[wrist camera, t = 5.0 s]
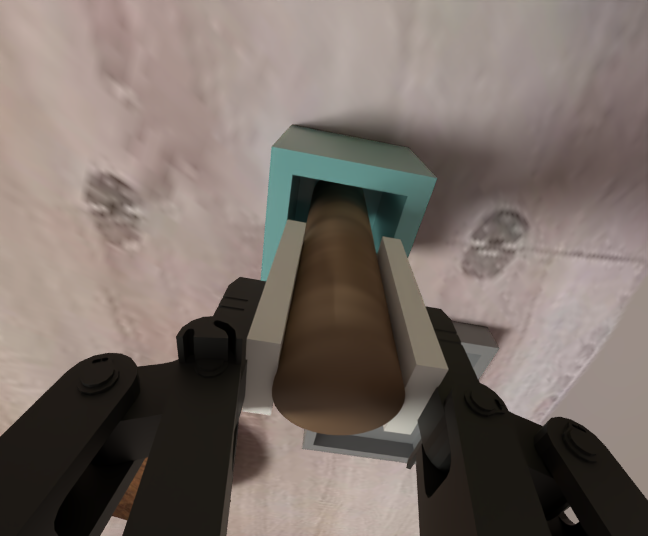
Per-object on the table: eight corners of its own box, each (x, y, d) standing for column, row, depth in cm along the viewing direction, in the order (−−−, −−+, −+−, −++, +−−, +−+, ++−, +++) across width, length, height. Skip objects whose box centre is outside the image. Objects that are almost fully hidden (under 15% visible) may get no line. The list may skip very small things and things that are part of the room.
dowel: (308, 217, 20) (266, 426, 8) (316, 167, 18) (278, 341, 7) (357, 226, 20) (384, 442, 9) (369, 177, 19) (424, 363, 7)
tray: (304, 427, 35) (302, 448, 33) (335, 302, 26) (334, 321, 24) (416, 442, 36) (421, 465, 34) (486, 327, 26) (499, 348, 24)
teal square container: (279, 232, 23) (260, 285, 17) (291, 124, 19) (271, 146, 13) (377, 249, 23) (390, 306, 17) (408, 147, 19) (437, 178, 14)
